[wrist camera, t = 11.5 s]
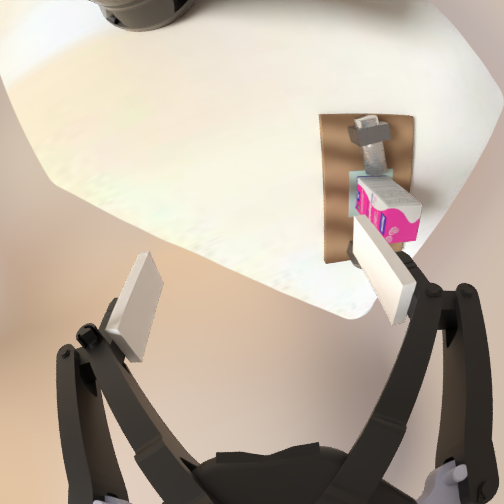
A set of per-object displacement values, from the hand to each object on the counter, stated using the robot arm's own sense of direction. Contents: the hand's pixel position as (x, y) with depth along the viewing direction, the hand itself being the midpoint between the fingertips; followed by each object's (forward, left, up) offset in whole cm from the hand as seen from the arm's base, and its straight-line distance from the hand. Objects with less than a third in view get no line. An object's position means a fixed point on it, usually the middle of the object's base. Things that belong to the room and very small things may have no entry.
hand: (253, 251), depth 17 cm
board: (+8, +20, -26) cm, 34 cm away
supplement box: (+8, +19, -25) cm, 33 cm away
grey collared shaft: (-1, +19, -25) cm, 31 cm away
